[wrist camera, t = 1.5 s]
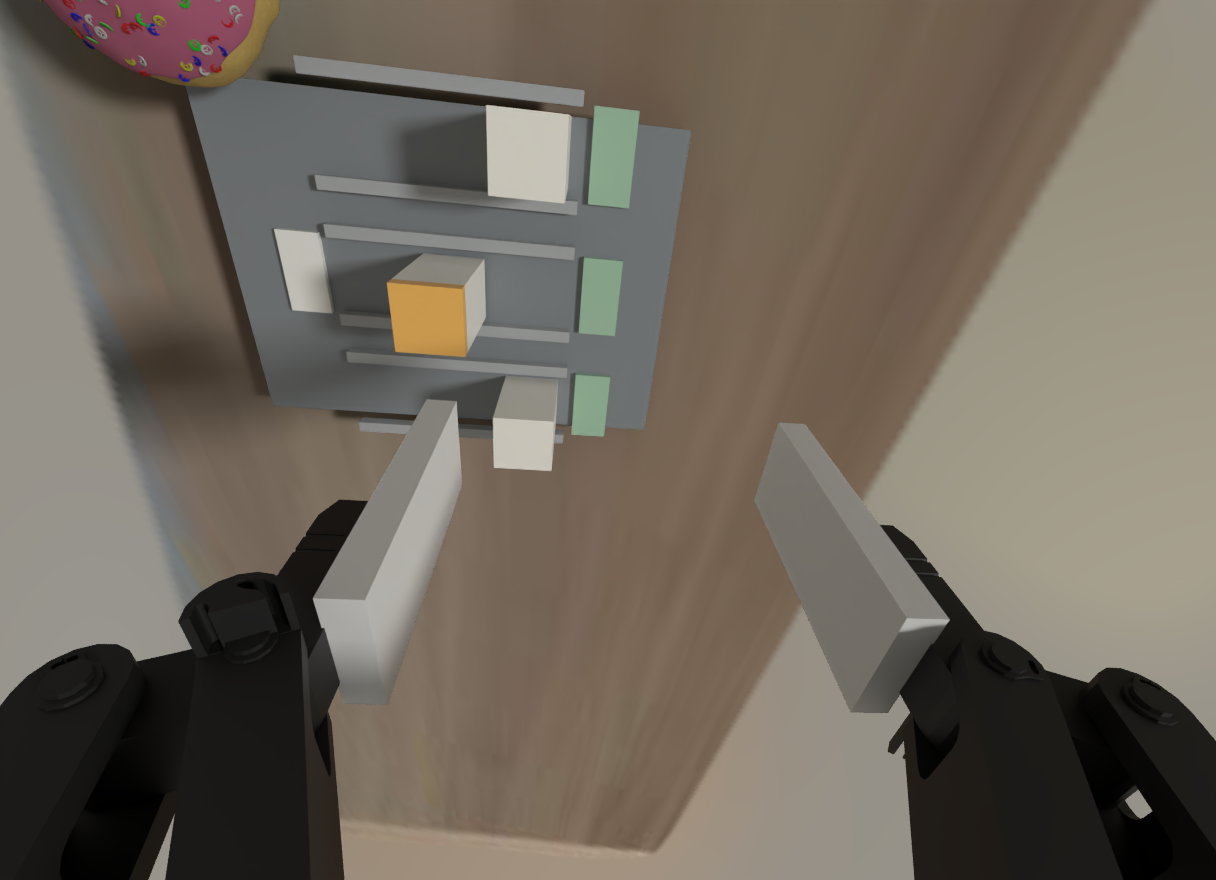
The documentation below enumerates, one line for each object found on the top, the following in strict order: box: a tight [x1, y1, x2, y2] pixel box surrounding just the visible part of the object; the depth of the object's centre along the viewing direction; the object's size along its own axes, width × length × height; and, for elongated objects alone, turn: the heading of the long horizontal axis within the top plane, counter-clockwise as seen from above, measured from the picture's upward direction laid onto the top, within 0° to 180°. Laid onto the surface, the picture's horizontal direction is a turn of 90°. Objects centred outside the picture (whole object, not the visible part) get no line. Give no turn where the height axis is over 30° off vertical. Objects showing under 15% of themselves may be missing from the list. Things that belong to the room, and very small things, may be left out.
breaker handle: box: [387, 253, 486, 357], centre depth 24 cm, size 3×3×6 cm
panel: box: [186, 55, 691, 471], centre depth 25 cm, size 18×22×7 cm
